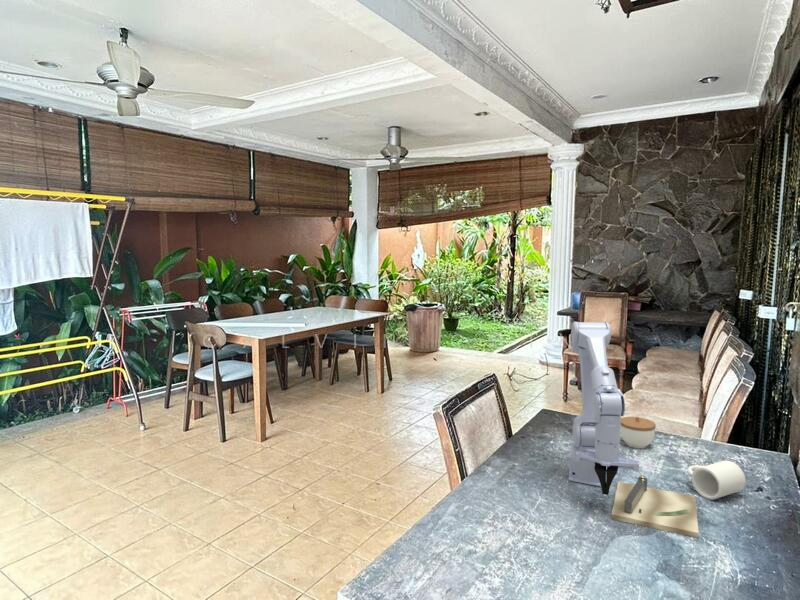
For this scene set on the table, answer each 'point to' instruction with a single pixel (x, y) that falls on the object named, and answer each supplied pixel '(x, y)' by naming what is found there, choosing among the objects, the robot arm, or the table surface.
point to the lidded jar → (637, 431)
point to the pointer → (635, 494)
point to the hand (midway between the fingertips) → (605, 492)
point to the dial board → (658, 510)
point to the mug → (717, 479)
